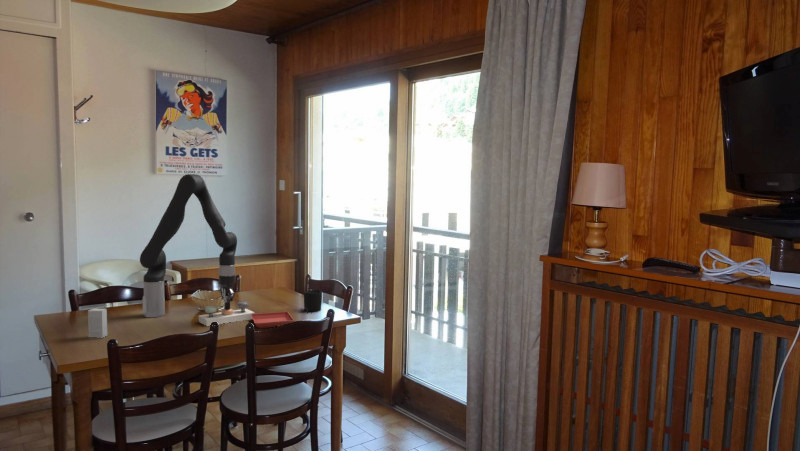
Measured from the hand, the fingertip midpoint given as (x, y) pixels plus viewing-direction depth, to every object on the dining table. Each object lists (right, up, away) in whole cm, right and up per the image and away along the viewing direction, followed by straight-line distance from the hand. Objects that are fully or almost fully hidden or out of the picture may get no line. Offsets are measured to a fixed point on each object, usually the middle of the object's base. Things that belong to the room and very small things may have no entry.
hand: (227, 309), depth 268 cm
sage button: (-6, -3, -5) cm, 9 cm away
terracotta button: (0, -5, 0) cm, 5 cm away
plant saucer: (+22, -7, -2) cm, 23 cm away
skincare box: (-45, -7, -31) cm, 56 cm away
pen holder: (+37, -4, +24) cm, 45 cm away
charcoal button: (+6, -3, +5) cm, 8 cm away
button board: (0, -5, 0) cm, 5 cm away
